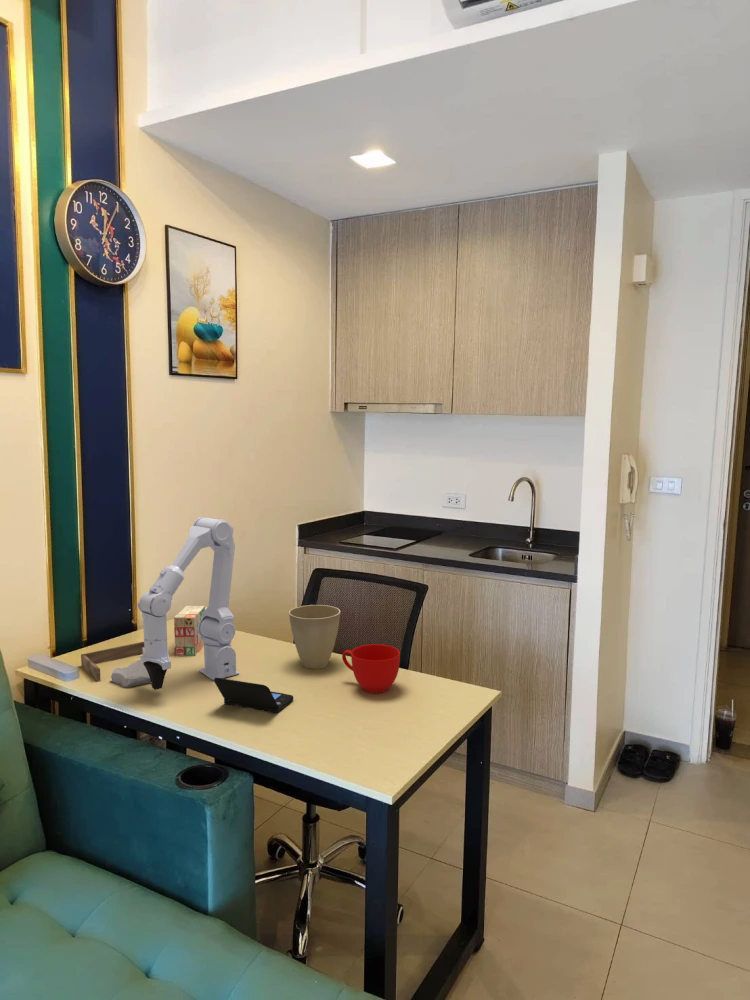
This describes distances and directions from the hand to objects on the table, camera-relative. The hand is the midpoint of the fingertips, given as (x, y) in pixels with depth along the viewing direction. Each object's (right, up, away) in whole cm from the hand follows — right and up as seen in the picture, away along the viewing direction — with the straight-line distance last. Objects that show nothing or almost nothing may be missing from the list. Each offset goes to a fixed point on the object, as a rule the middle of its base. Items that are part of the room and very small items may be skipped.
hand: (157, 688), depth 179 cm
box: (-16, +1, +20) cm, 25 cm away
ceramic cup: (+55, -1, +5) cm, 55 cm away
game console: (+27, -3, -7) cm, 28 cm away
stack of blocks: (0, +3, +39) cm, 39 cm away
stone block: (-8, -1, +10) cm, 13 cm away
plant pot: (+39, +1, +21) cm, 45 cm away
